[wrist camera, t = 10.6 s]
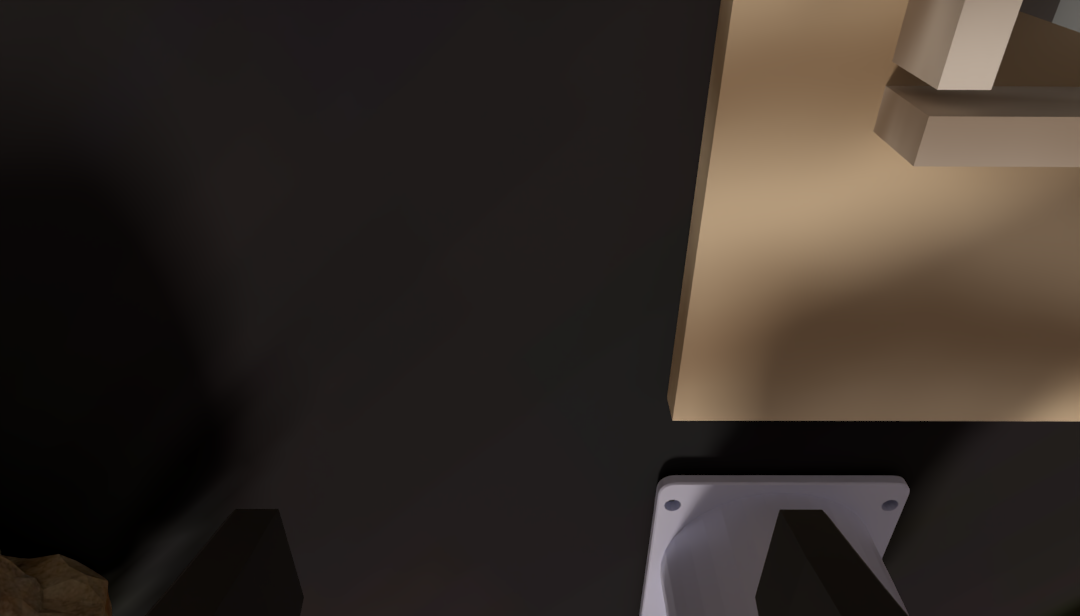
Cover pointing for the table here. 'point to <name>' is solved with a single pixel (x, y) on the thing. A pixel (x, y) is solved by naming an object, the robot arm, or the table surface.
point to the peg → (1055, 11)
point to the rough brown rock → (51, 588)
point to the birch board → (884, 217)
